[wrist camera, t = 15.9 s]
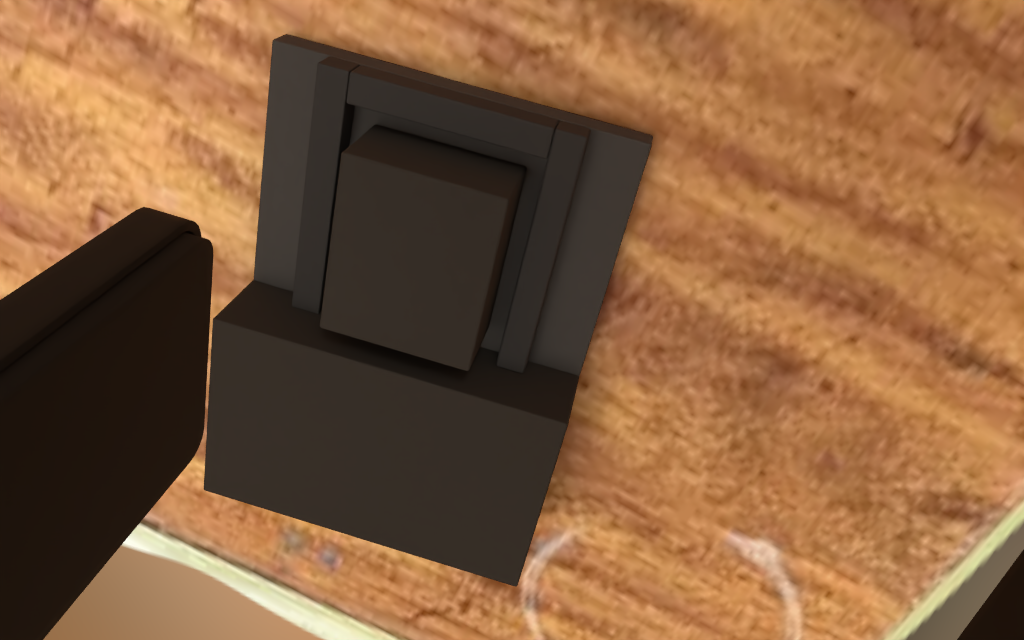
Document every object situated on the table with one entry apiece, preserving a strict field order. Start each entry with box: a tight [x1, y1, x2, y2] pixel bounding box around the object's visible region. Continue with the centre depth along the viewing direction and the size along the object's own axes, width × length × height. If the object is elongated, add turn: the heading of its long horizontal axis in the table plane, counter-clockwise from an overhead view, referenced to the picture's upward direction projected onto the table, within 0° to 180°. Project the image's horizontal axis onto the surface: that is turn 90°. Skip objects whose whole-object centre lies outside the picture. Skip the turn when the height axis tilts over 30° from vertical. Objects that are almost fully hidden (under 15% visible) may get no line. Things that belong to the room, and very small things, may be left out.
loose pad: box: [320, 125, 527, 371], centre depth 28 cm, size 6×5×3 cm
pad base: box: [204, 34, 653, 586], centre depth 30 cm, size 16×12×4 cm
